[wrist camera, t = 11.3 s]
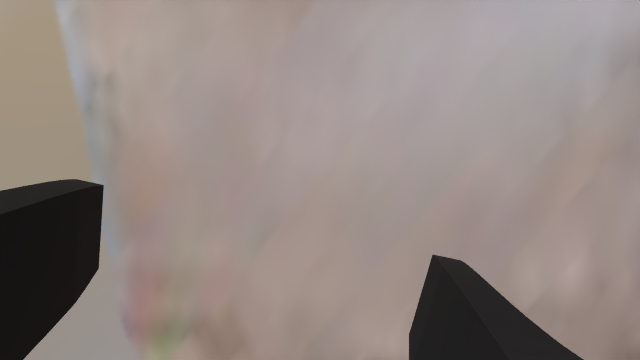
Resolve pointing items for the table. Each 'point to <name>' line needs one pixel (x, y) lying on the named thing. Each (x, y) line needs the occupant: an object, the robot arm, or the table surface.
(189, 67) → the table surface
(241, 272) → the table surface
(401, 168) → the table surface
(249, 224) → the table surface
